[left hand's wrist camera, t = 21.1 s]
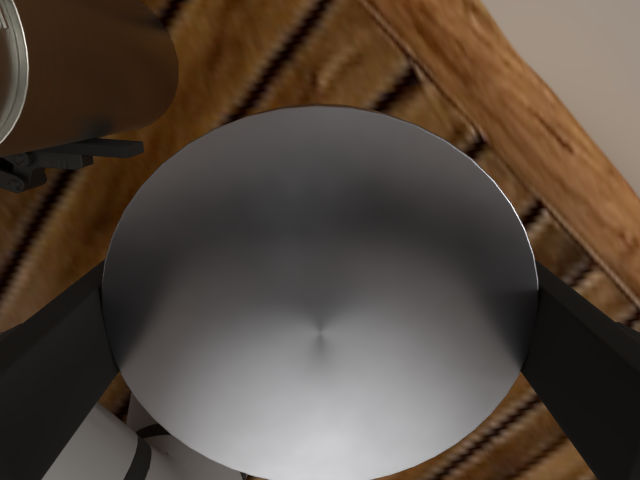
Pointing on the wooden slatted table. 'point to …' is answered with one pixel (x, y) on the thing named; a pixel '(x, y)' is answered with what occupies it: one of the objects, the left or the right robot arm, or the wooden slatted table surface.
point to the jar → (80, 71)
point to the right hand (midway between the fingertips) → (126, 61)
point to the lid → (320, 294)
